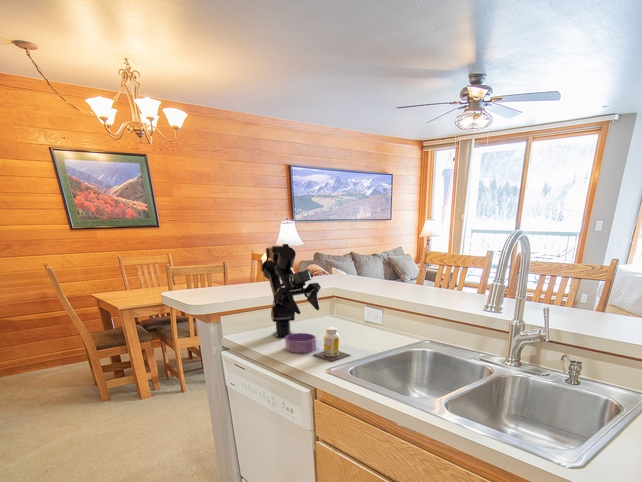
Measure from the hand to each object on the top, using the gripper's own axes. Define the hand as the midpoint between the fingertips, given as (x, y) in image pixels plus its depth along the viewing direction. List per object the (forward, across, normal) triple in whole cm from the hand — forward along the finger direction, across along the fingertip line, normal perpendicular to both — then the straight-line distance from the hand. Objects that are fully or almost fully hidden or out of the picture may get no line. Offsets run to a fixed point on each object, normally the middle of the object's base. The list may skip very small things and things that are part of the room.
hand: (309, 311), depth 148 cm
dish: (+9, -4, +10) cm, 14 cm away
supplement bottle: (+18, -1, +1) cm, 18 cm away
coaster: (+18, -1, +1) cm, 18 cm away
